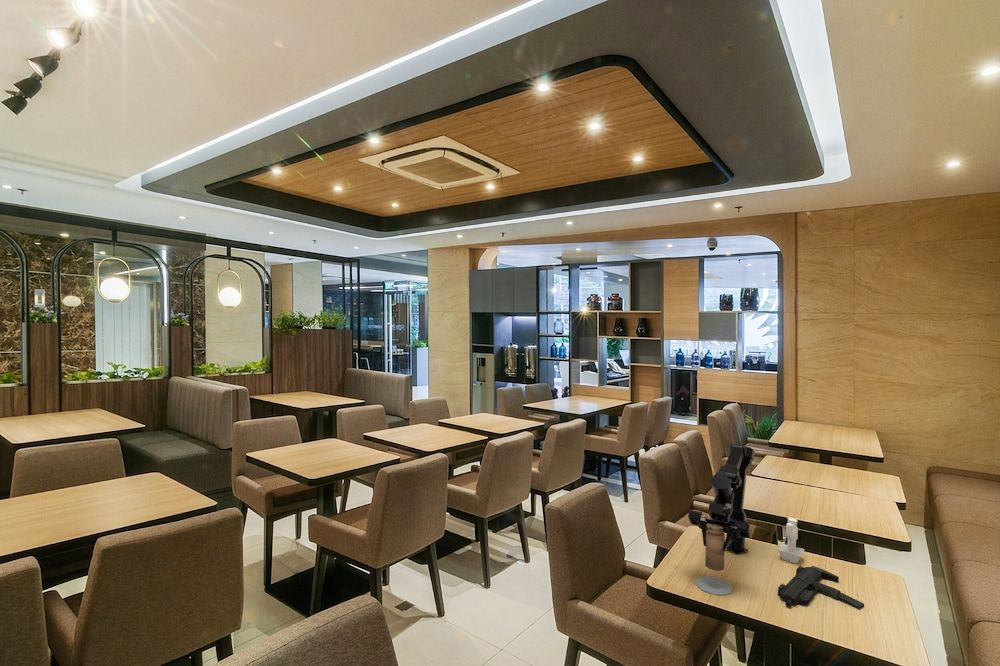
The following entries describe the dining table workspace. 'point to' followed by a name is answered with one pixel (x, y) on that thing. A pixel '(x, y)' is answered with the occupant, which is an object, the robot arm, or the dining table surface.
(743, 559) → the dining table surface
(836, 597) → the firearm
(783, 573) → the dining table surface
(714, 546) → the pepper mill
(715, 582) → the slate mat
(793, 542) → the figurine
